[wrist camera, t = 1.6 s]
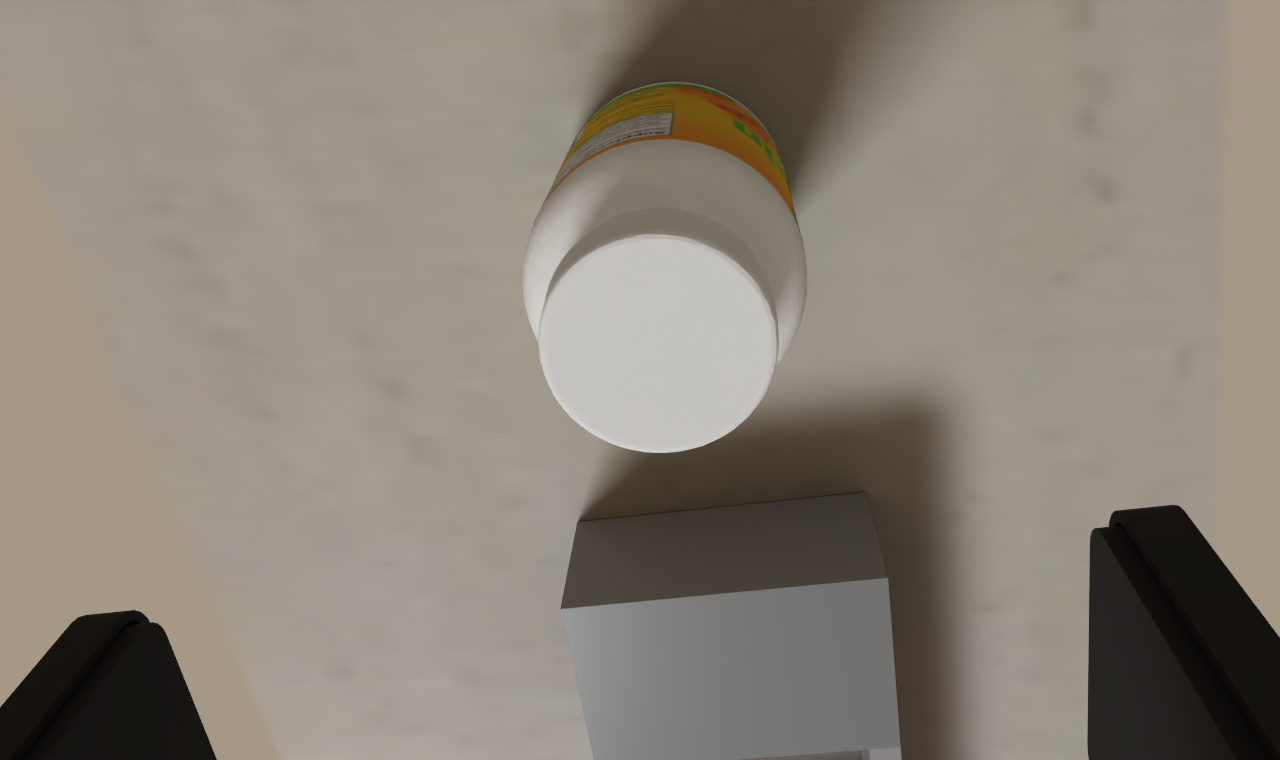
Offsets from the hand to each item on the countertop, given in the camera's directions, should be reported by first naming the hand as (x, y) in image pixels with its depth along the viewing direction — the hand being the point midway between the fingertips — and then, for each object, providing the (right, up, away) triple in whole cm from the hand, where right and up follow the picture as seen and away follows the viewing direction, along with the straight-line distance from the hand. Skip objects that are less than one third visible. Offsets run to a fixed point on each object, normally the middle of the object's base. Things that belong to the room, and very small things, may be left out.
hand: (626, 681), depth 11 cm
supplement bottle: (+1, +8, +16) cm, 18 cm away
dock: (+3, -7, +22) cm, 24 cm away
